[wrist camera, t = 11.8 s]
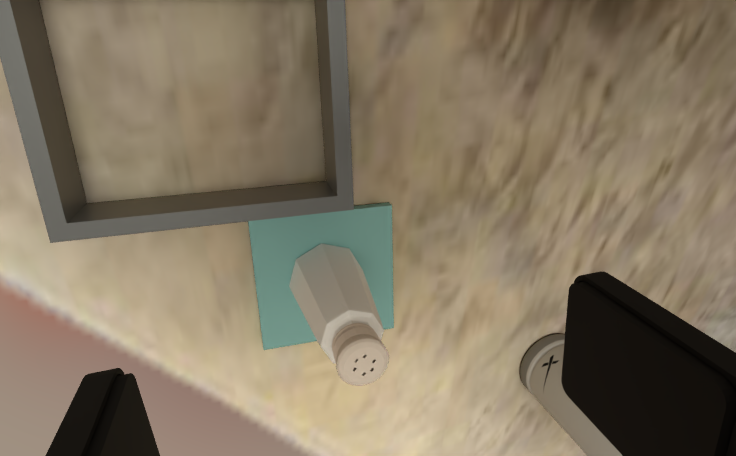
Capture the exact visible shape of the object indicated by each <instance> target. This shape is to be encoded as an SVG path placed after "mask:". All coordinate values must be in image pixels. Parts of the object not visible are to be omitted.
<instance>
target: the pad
mask: <svg viewBox="0 0 736 456" xmlns="http://www.w3.org/2000/svg"><path fill="white" fill-rule="evenodd" d="M248 224H249V233H250V241H251V249H252V257H253V266H254V274H255V282H256V291H257V299H258V307H259V315H260V324H261V332H262V340H263V349H264V350H267V349H273V348H279V347H284V346H290V345H296V344H302V343H308V342H314V341H317V340H316V338H315V336H314V334H313V332H312V330H311V328H310V326H309V324H308V322H307V320H306V318H305V316H304V314H303V312H302V311H301V309H300V307H299V305H298V303H297V301H296V299H295V297H294V295H293V293H292V291H291V289H290V287H289V284H290V280H291V276H292V272H293V268H294V265H295V261H296V259H297V258H299V257H300V256H302V255H304V254H305V253H307V252H308V251H310V250H312V249H313V248H315V247H316V246H318V245H320V244H327V245H332V246H338V247H344V248H349V249H350V251H351V252H352V254H353V255H354V257H355V259H356V260H357V262H358V263H359V265H360V267H361V268H362V270H363V272H364V275H365V278H366V280H367V283H368V286H369V289H370V292H371V294H372V297H373V300H374V303H375V306H376V308H377V311H378V314H379V317H380V320H381V322H382V326H383V330H384V329H390V328H394V317H393V248H392V205H391V204H390V203H389V202H387V203H378V204H368V205H359V206H354V210H347V211H338V212H329V213H320V214H311V215H301V216H292V217H283V218H274V219H265V220H255V221H248Z"/></svg>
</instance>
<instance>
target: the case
mask: <svg viewBox="0 0 736 456" xmlns="http://www.w3.org/2000/svg"><path fill="white" fill-rule="evenodd" d="M315 13H316V29H317V45H318V62H319V78H320V94H321V110H322V127H323V143H324V159H325V175H326V181H323V182H312V183H301V184H291V185H280V186H269V187H258V188H248V189H237V190H226V191H215V192H205V193H194V194H183V195H173V196H162V197H151V198H140V199H130V200H119V201H108V202H97V203H87V202H86V198H85V194H84V190H83V186H82V181H81V177H80V173H79V169H78V164H77V160H76V156H75V152H74V147H73V143H72V139H71V135H70V131H69V126H68V122H67V118H66V114H65V109H64V105H63V101H62V97H61V93H60V88H59V84H58V80H57V76H56V71H55V67H54V63H53V59H52V54H51V50H50V46H49V42H48V38H47V33H46V29H45V25H44V21H43V16H42V12H41V8H40V4H39V0H0V58H1V62H2V66H3V69H4V73H5V77H6V81H7V84H8V88H9V92H10V95H11V99H12V103H13V106H14V110H15V114H16V117H17V121H18V125H19V129H20V132H21V136H22V140H23V143H24V147H25V151H26V154H27V158H28V162H29V166H30V169H31V173H32V177H33V180H34V184H35V188H36V191H37V195H38V199H39V202H40V206H41V210H42V214H43V217H44V221H45V225H46V228H47V232H48V236H49V239H50V243H53V242H62V241H71V240H81V239H90V238H99V237H108V236H117V235H127V234H136V233H145V232H154V231H163V230H173V229H182V228H191V227H200V226H209V225H219V224H228V223H237V222H246V221H255V220H265V219H274V218H283V217H292V216H301V215H311V214H320V213H329V212H338V211H347V210H354V200H353V176H352V153H351V129H350V106H349V82H348V59H347V35H346V11H345V0H315Z"/></svg>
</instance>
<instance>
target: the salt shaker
mask: <svg viewBox="0 0 736 456" xmlns="http://www.w3.org/2000/svg"><path fill="white" fill-rule="evenodd" d="M289 287H290V289H291V291H292V293H293V295H294V297H295V299H296V301H297V303H298V305H299V307H300V309H301V311H302V312H303V314H304V316H305V318H306V320H307V322H308V324H309V326H310V328H311V330H312V332H313V334H314V336H315V338H316V340H317V341H318V343H319V344H320V346H321V348H322V349H323V350H324V352H325V353H326V355H327V356H328V357H329V359H330V360H331V361H332V362H333V363H335V364H336V369H337V372H338V375H339V376H340V378H341V379H342V380H343V381H345V382H346V383H348V384H351V385H357V386H362V385H367V384H370V383H372V382H374V381H376V380H377V379H379V378H380V377H381V376H382V375H383V373H384V372H385V370H386V369H387V366H388V363H389V354H388V350H387V349H386V347H385V346H384V344H383V343H382V342H381V338H382V335H383V332H384V330H383V326H382V322H381V320H380V317H379V314H378V311H377V308H376V306H375V303H374V300H373V297H372V294H371V292H370V289H369V286H368V283H367V280H366V278H365V275H364V272H363V270H362V268H361V267H360V265H359V263H358V262H357V260H356V259H355V257H354V255H353V254H352V252H351V251H350V249H349V248H344V247H338V246H332V245H327V244H320V245H318V246H316V247H315V248H313V249H312V250H310V251H308V252H307V253H305V254H304V255H302V256H300V257H299V258H297V259H296V261H295V265H294V268H293V272H292V276H291V280H290V284H289Z"/></svg>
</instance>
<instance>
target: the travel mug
mask: <svg viewBox="0 0 736 456" xmlns="http://www.w3.org/2000/svg"><path fill="white" fill-rule="evenodd" d="M564 341H565V335H564V334H554V335H549V336H547V337H544V338H542V339H541V340H539V341H538V342H536V343H535V344H534V345H533V346H532V347H531V348H530V349H529V350H528V352H527V353H526V355H525V356H524V358H523V361H522V364H521V368H520V376H521V380H522V383H523V385H524V386H525V387H526V388H527V389H528V390H529V391H530V393H531V394H532V395H533V396H534V397H535V398H536V399H537V400H538V401H539V403H540V404H541V405H542V406H543V407H544V408H545V409H546V410H547V411H548V413H549V414H550V415H551V416H552V417H553V418H554V419H555V420H556V421H557V422H558V424H559V425H560V426H561V427H562V428H563V429H564V430H565V431H566V432H567V434H568V435H569V436H570V437H571V438H572V439H573V440H574V441H575V442H576V444H577V445H578V446H579V447H580V448H581V449H582V450H583V451H584V452H585V454H586V455H587V456H622V454H621V453H620V452H619V451H618V450H617V449H616V448H615V447H614V446H613V445H612V444H611V443H610V441H609V440H608V439H607V438H606V437H605V436H604V435H603V434H602V433H601V432H600V431H599V430H598V429H597V427H596V426H595V425H594V424H593V423H592V422H591V421H590V420H589V419H588V418H587V417H586V416H585V414H584V413H583V412H582V411H581V410H580V409H579V408H578V407H577V406H576V405H575V404H574V403H573V402H572V400H571V399H570V398H569V397H568V396H567V395H566V393H565V391H564V389H563V387H562V382H561V376H562V365H563V353H564Z"/></svg>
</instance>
